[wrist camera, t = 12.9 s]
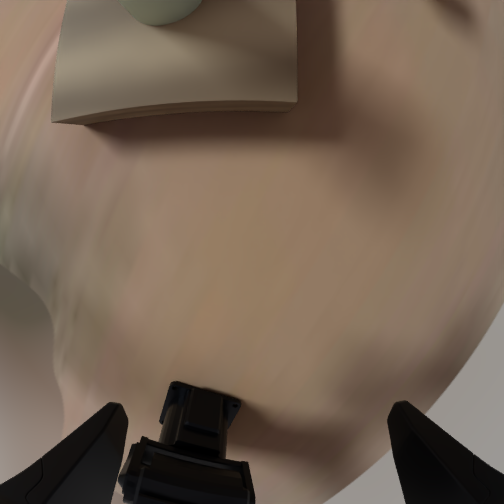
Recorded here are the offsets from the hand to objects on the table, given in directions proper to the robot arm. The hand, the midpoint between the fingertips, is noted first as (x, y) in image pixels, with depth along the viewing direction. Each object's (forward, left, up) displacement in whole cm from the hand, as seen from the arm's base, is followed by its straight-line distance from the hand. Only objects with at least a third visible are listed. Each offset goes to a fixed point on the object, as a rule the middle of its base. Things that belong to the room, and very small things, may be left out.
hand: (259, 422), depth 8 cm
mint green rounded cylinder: (+15, +11, -9) cm, 20 cm away
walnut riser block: (+15, +11, -13) cm, 22 cm away
